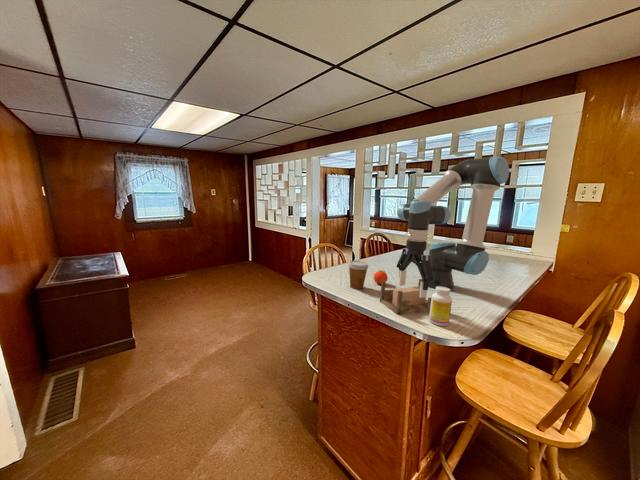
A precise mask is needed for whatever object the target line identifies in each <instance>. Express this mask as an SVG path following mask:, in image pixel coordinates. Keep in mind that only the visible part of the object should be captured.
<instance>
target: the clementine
mask: <svg viewBox="0 0 640 480" xmlns="http://www.w3.org/2000/svg"><path fill="white" fill-rule="evenodd" d="M373 280H374V282H375V283H376V284H378V285H381V283H382V281H385V282H386V283H387V281H388V274H387V273H386V271H385V270H378V271H375V272H374V275H373Z"/></svg>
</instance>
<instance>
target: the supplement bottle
mask: <svg viewBox="0 0 640 480" xmlns="http://www.w3.org/2000/svg"><path fill="white" fill-rule="evenodd" d="M450 293H451V289H449V288H446V287H442V286H437V287H436V288H435V292H434V293H433V294H432V295H431V297H432V298H431V297H430V298H431V306H430V312H429V316H428V320H429V322H430V323H431V324H433V325H435V326H440V327H446V326H448V325H449V324H450V317H451V311H452V303H453V299H452V297H451V295H450Z"/></svg>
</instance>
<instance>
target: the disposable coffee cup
mask: <svg viewBox="0 0 640 480" xmlns="http://www.w3.org/2000/svg"><path fill="white" fill-rule="evenodd" d="M368 264H369V263H367V262H364V261H360V260H352V261H350V262H349V263H348V265H347V266H348V270H349V272H348V273H349V286H350V288H352V289H354V290H362V289H364V285H365V279H366V275H367V272H368V271H367V270H368V268H369V265H368Z"/></svg>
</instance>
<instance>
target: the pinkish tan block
mask: <svg viewBox="0 0 640 480" xmlns="http://www.w3.org/2000/svg"><path fill="white" fill-rule="evenodd" d="M398 291H402V292H403V293H402V300H406V299H409V300H410V305H416V304H423V303H425V301H426V300H427V296H426V297H423V298H420V297H419V295H420V286H418V285H417V286H410V287H402V288H401V287H400V288H394V289H393V299H392V304H394V305H396V306H397V296H398Z"/></svg>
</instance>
